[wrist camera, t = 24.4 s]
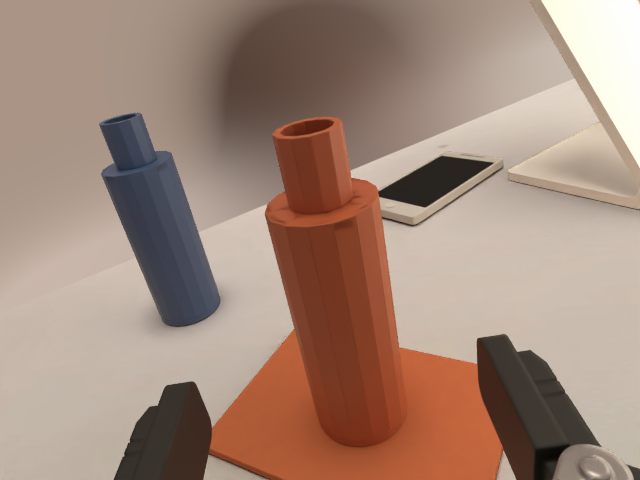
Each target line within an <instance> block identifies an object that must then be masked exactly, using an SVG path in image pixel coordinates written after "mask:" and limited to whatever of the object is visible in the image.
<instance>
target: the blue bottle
mask: <svg viewBox="0 0 640 480" xmlns="http://www.w3.org/2000/svg"><path fill="white" fill-rule="evenodd" d="M99 125H100V128H101V131H102V133H103V136H104V138H105V141H106V143H107V146H108V148H109V150H110V153H111V155H112V158H113V161H114V164H112V165H110V166H108V167H107V168H105V169H104V170H103V171H102V173H101V175H102V177H103V180H104V182H105V184H106V187H107V189H108V192H109V194H110V196H111V199H112V201H113V204H114V206H115V208H116V211H117V213H118V216H119V218H120V220H121V223H122V225H123V228H124V230H125V232H126V234H127V237H128V239H129V242H130V244H131V247H132V249H133V251H134V254H135V256H136V259H137V261H138V263H139V266H140V268H141V271H142V273H143V275H144V278H145V280H146V282H147V285H148V287H149V290H150V292H151V294H152V297H153V299H154V302H155V304H156V306H157V309H158V311H159V314H160V315H161V317H162V319H163V321H164V322H165V323H166V324H168V325H172V326H185V325H190V324H193V323H196V322H198V321H201V320H203V319H204V318H206V317H208V316H209V315H210V314H212V313H213V312H214V311H215V310H216V309H217V307H218V306H219V303H220V296H219V293H218V289H217V286H216V283H215V280H214V277H213V275H212V272H211V269H210V266H209V263H208V260H207V257H206V254H205V251H204V248H203V245H202V242H201V239H200V236H199V233H198V230H197V227H196V224H195V221H194V219H193V215H192V212H191V209H190V207H189V204H188V201H187V198H186V195H185V192H184V189H183V186H182V183H181V180H180V177H179V174H178V171H177V168H176V165H175V163H174V160H173V156H172V154H171V153H170V152H167V151H156V152H155V151H154V148H153V145H152V142H151V139H150V137H149V134H148V131H147V128H146V125H145V123H144V120H143V117H142V114H141V113H131V114H126V115H121V116H117V117H113V118H110V119H108V120H105V121H103V122H101V123H100V124H99Z"/></svg>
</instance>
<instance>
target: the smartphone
mask: <svg viewBox="0 0 640 480" xmlns="http://www.w3.org/2000/svg"><path fill="white" fill-rule="evenodd" d="M501 167H503V158H499V157H490V156H482V155H474V154H466V153H458V152H450V151H449V152H445V153H443V154H441V155H440V156H438V157H436V158H434V159H433V160H431V161H429V162H427V163H426V164H424V165H422V166H420V167H419V168H417V169H415V170H413V171H412V172H410V173H408V174H406V175H405V176H403V177H401V178H399V179H398V180H396V181H394V182H392V183H390V184H389V185H387V186H385V187H383V188H382V189H380V190H378V194H379V200H380V208H381V215H382V217H385V218H389V219H392V220H396V221H400V222H404V223H407V224H411V225H415V224H418V223H419V222H421V221H422V220H424V219H425V218H427V217H428V216H430V215H431V214H433V213H434V212H436V211H437V210H439V209H440V208H442V207H443V206H445V205H446V204H448V203H449V202H451V201H452V200H454V199H455V198H457V197H458V196H460V195H461V194H463V193H464V192H466V191H467V190H469V189H470V188H472V187H473V186H475V185H476V184H478V183H479V182H481V181H482V180H484V179H485V178H487V177H488V176H489V175H491V174H492V173H494V172H495V171H497V170H498V169H500V168H501Z"/></svg>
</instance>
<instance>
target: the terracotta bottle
mask: <svg viewBox="0 0 640 480" xmlns="http://www.w3.org/2000/svg"><path fill="white" fill-rule="evenodd" d="M272 136H273V140H274V144H275V149H276V154H277V157H278V162H279V167H280V171H281V175H282V179H283V183H284V188H285V192H283V193H281V194H279V195H277V196H276V197H275V198H274V199H273V200H272V201H271V202H269V203H268V205H267V208H266V211H265V217H266V220H267V224H268V228H269V232H270V236H271V240H272V244H273V247H274V251H275V255H276V259H277V263H278V267H279V271H280V274H281V278H282V282H283V286H284V290H285V294H286V298H287V301H288V305H289V309H290V313H291V317H292V321H293V325H294V328H295V332H296V336H297V340H298V344H299V348H300V352H301V355H302V359H303V363H304V367H305V371H306V375H307V379H308V382H309V386H310V390H311V394H312V398H313V402H314V406H315V409H316V413H317V416H318V418H319V422H320V425H321V427H322V429H323V430H324V432H325V433H326V434H327V435H328V436H329V437H330V438H332V439H333V440H335V441H337V442H339V443H341V444H344V445H348V446H354V447H365V446H371V445H375V444H378V443H380V442H383V441H385V440H386V439H388V438H390V437H391V436H392V435H393V434H395V433H396V432H397V431H398V429H399V428H400V427H401V425H402V424H403V422H404V419H405V416H406V411H407V406H406V396H405V388H404V381H403V373H402V366H401V358H400V351H399V343H398V336H397V328H396V321H395V313H394V306H393V298H392V291H391V283H390V275H389V268H388V260H387V253H386V245H385V238H384V230H383V223H382V215H381V208H380V200H379V194H378V189H377V187H376V186H375V185H373V184H371V183H370V182H368V181H365V180H360V179H355V178H351V174H350V167H349V161H348V155H347V149H346V142H345V136H344V130H343V124H342V120H340V119H338V118H335V117H317V118H310V119H305V120H300V121H297V122H293V123H289V124H287V125H285V126H282V127H280V128H278V129H277V130H276V131H275V132H274V133H273V134H272Z"/></svg>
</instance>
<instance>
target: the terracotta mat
mask: <svg viewBox="0 0 640 480" xmlns="http://www.w3.org/2000/svg"><path fill="white" fill-rule="evenodd" d="M399 351H400V358H401V366H402V373H403V381H404V388H405V396H406V406H407V411H406V416H405V419H404V422H403V424H402V425H401V427H400V428H399V429H398V431H397V432H396V433H395V434H393V435H392V436H391V437H390V438H388V439H386V440H385V441H383V442H380V443H378V444H375V445H371V446H365V447H354V446H348V445H344V444H341V443H339V442H337V441H335V440H333V439H332V438H330V437H329V436H328V435H327V434H326V433H325V432H324V430H323V429H322V427H321V425H320V422H319V418H318V416H317V413H316V409H315V406H314V402H313V398H312V394H311V390H310V386H309V382H308V379H307V375H306V371H305V367H304V363H303V359H302V355H301V352H300V348H299V344H298V340H297V336H296V332H295V329H294V330H293V331H292V332H291V334H290V335H289V336H288V337H287V338H286V340H285V341H284V342H283V343H282V345H281V346H280V347H279V348H278V349H277V351H276V352H275V353H274V354H273V355H272V357H271V358H270V359H269V360H268V361H267V363H266V364H265V365H264V366H263V367H262V369H261V370H260V371H259V372H258V374H257V375H256V376H255V377H254V378H253V380H252V381H251V382H250V383H249V384H248V386H247V387H246V388H245V389H244V390H243V392H242V393H241V394H240V395H239V396H238V398H237V399H236V400H235V401H234V403H233V404H232V405H231V406H230V407H229V409H228V410H227V411H226V412H225V413H224V415H223V416H222V417H221V418H220V419H219V421H218V422H217V423H216V424H215V425H214V427H213V428H212V440H211V445H210V449H209V454H212V455H214V456H216V457H219V458H221V459H224V460H226V461H228V462H231V463H233V464H235V465H238V466H240V467H242V468H245V469H247V470H250V471H252V472H254V473H257V474H259V475H261V476H264V477H266V478H269V479H271V480H496V476H497V471H498V467H499V463H500V459H501V455H502V451H503V447H502V444H501V442H500V440H499V437H498V435H497V433H496V430H495V428H494V426H493V423H492V421H491V419H490V416H489V414H488V412H487V409H486V407H485V405H484V402H483V399H482V396H481V393H480V389H479V383H478V365H477V364H474V363H470V362H465V361H460V360H455V359H451V358H446V357H441V356H437V355H432V354H427V353H423V352H418V351H413V350H409V349H404V348H399Z"/></svg>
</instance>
